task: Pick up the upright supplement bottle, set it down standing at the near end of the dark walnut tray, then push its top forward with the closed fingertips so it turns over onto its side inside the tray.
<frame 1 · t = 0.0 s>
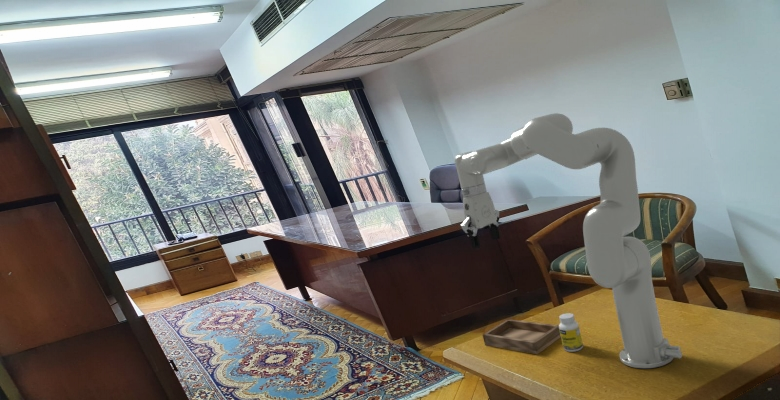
hand: (486, 243, 168), 31 cm above the table, tool pointing down, fingers open, 9 cm apart
supplement bottle: (573, 348, 151), on the table
tray: (522, 340, 165), on the table
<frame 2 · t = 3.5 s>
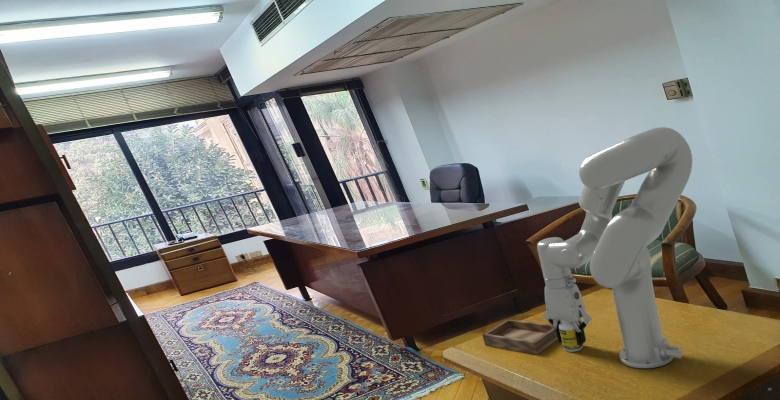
hand: (572, 341, 151), 2 cm above the table, tool pointing down, fingers closed on supplement bottle, 5 cm apart
supplement bottle: (573, 348, 151), on the table, touching gripper
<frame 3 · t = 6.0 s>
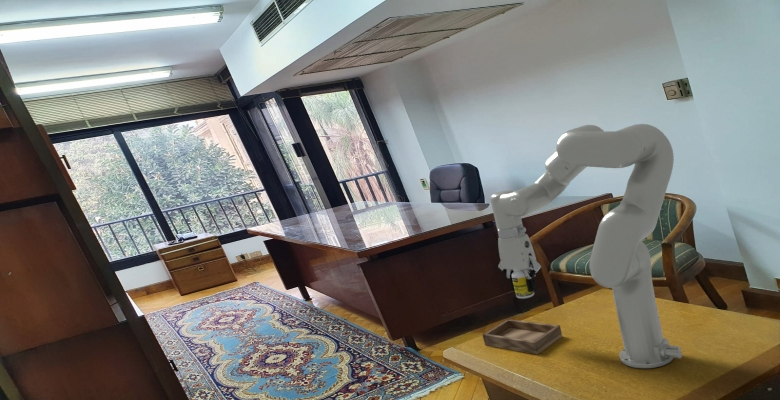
hand: (524, 289, 159), 17 cm above the table, tool pointing down, fingers closed on supplement bottle, 5 cm apart
supplement bottle: (525, 296, 159), point 15 cm above the table, touching gripper
when the fingers open (4 cm above the table, at t = 8.6 s): supplement bottle drops 1 cm, resting on tray.
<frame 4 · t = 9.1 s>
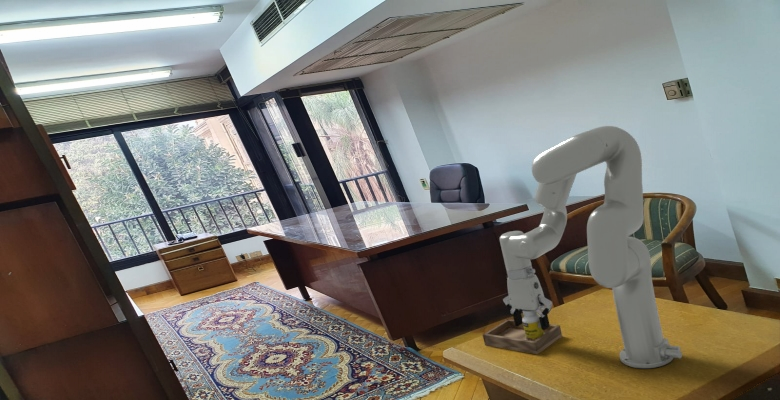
hand: (532, 326, 160), 5 cm above the table, tool pointing down, fingers open, 9 cm apart
supplement bottle: (536, 340, 161), point 1 cm above the table, touching tray
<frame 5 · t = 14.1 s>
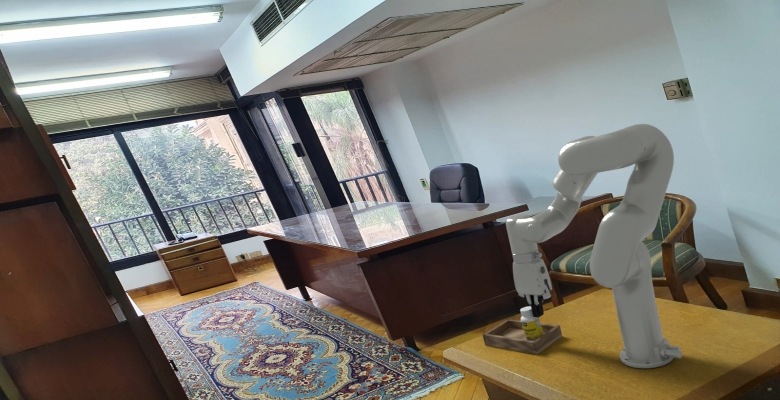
hand: (538, 315, 157), 9 cm above the table, tool pointing down, fingers closed
supplement bottle: (535, 339, 161), point 1 cm above the table, touching gripper, tray
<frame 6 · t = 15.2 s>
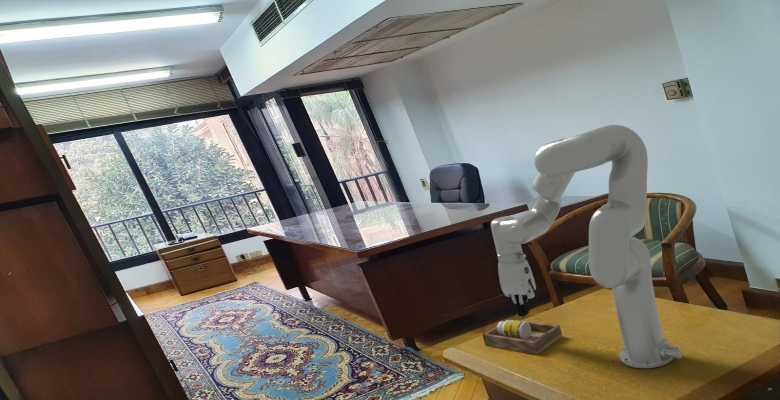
hand: (523, 314, 162), 9 cm above the table, tool pointing down, fingers closed
supplement bottle: (526, 330, 162), point 4 cm above the table, touching tray
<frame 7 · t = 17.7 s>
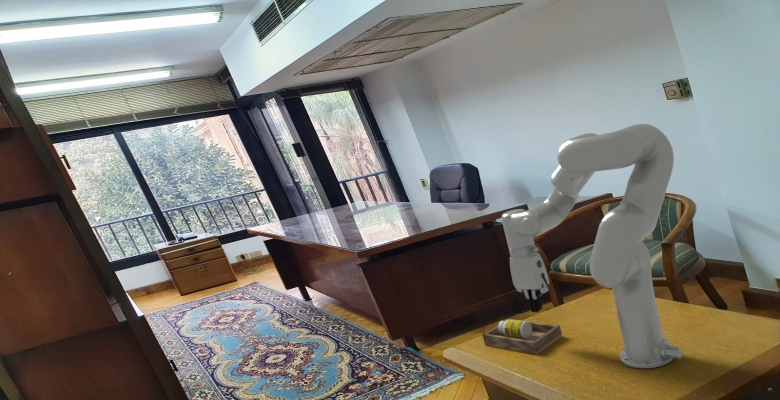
hand: (536, 310, 157), 11 cm above the table, tool pointing down, fingers closed
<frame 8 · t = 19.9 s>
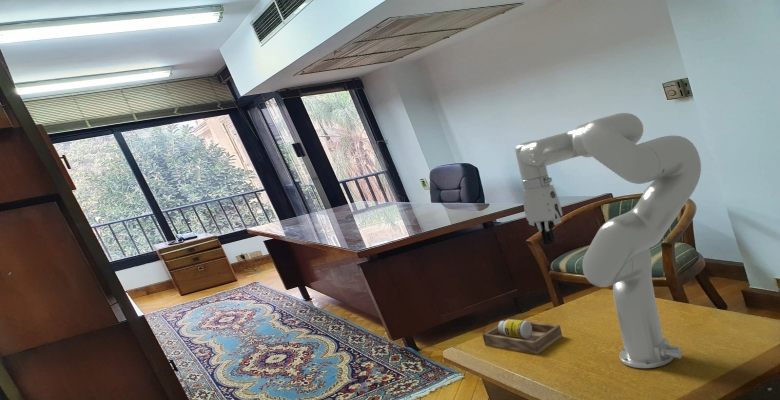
hand: (549, 243, 157), 29 cm above the table, tool pointing down, fingers closed
nothing on the table moved.
at the end: supplement bottle tilted 91°; supplement bottle inside the target area on the tray (2.9 cm from its centre), point 3.7 cm above the tray's base; the gripper is holding nothing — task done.
